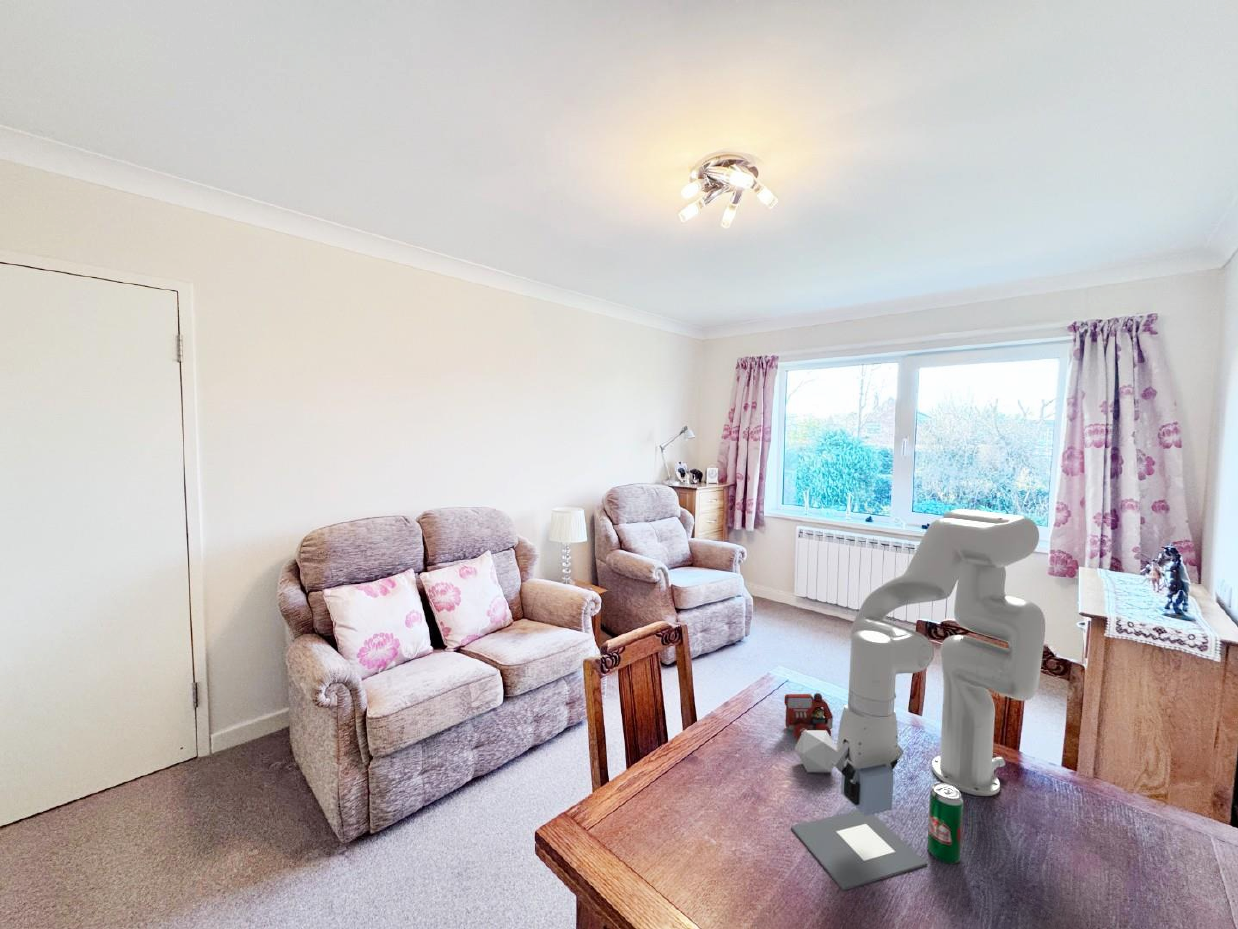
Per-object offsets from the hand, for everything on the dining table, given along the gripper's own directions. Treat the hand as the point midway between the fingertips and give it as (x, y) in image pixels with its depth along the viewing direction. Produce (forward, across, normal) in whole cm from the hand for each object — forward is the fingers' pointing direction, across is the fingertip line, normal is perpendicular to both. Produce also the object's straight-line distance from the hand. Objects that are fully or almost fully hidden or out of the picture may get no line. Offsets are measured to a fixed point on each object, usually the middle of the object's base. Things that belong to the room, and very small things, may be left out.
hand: (866, 795), depth 94 cm
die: (+9, -6, -21) cm, 24 cm away
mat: (+9, +2, 0) cm, 10 cm away
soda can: (+9, -12, +6) cm, 17 cm away
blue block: (+1, 0, 0) cm, 1 cm away
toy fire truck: (+9, -13, -33) cm, 37 cm away
